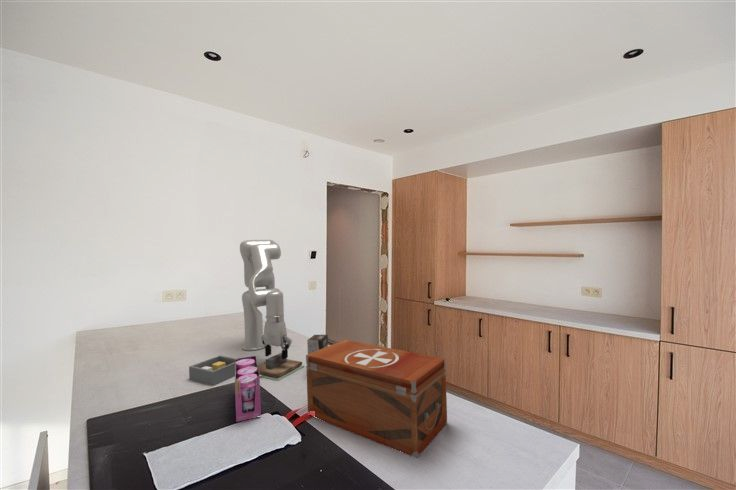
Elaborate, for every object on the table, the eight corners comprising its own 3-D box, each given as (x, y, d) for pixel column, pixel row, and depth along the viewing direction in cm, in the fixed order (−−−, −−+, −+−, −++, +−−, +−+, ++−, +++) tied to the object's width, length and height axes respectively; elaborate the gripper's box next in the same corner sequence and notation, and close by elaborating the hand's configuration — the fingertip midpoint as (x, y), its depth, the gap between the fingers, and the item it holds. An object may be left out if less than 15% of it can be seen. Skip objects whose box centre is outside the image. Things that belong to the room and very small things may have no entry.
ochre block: (219, 370, 150) (219, 361, 150) (226, 371, 148) (225, 362, 148) (212, 373, 147) (211, 364, 147) (218, 374, 145) (217, 365, 145)
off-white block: (206, 375, 145) (205, 366, 145) (212, 376, 143) (212, 367, 143) (197, 378, 141) (197, 369, 141) (204, 380, 139) (203, 370, 139)
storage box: (220, 369, 154) (219, 355, 154) (243, 374, 147) (243, 359, 147) (189, 382, 141) (189, 366, 141) (213, 388, 134) (213, 372, 134)
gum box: (262, 419, 109) (260, 377, 109) (235, 425, 106) (234, 382, 106) (257, 390, 131) (256, 355, 131) (235, 393, 128) (234, 358, 128)
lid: (275, 360, 161) (275, 348, 161) (302, 365, 154) (301, 353, 154) (250, 372, 147) (249, 359, 147) (277, 378, 140) (277, 364, 140)
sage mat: (276, 361, 162) (276, 360, 162) (304, 366, 154) (304, 365, 154) (248, 374, 147) (248, 373, 147) (278, 380, 139) (278, 379, 139)
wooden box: (346, 391, 127) (345, 339, 127) (448, 423, 103) (447, 358, 103) (306, 415, 111) (304, 354, 111) (417, 459, 87) (415, 382, 87)
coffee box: (322, 379, 140) (321, 340, 139) (307, 378, 141) (306, 339, 141) (329, 370, 148) (328, 334, 148) (315, 370, 150) (314, 333, 150)
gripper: (254, 319, 151) (256, 356, 151) (284, 322, 143) (285, 362, 143) (267, 315, 158) (268, 351, 158) (295, 318, 150) (297, 356, 150)
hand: (276, 356), depth 151 cm, fingers open, 9 cm apart
